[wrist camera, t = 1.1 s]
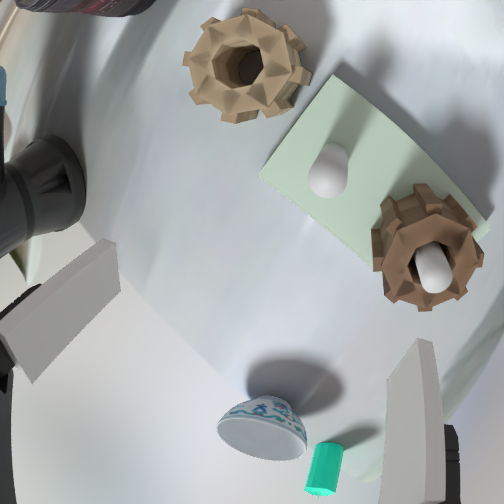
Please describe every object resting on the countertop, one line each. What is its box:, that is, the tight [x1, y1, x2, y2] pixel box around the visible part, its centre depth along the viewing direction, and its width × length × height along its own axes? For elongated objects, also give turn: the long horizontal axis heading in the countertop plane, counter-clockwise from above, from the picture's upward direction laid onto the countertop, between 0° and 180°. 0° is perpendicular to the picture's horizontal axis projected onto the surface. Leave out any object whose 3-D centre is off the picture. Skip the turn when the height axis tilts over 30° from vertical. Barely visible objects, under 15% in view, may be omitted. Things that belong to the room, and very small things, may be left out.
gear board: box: [258, 74, 491, 293], centre depth 23 cm, size 21×12×10 cm, turn 56°
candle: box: [304, 442, 344, 497], centre depth 47 cm, size 6×6×12 cm
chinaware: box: [216, 395, 307, 461], centre depth 45 cm, size 15×15×8 cm
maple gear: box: [182, 8, 312, 124], centre depth 23 cm, size 10×10×6 cm
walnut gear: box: [371, 183, 484, 312], centre depth 24 cm, size 10×10×6 cm
